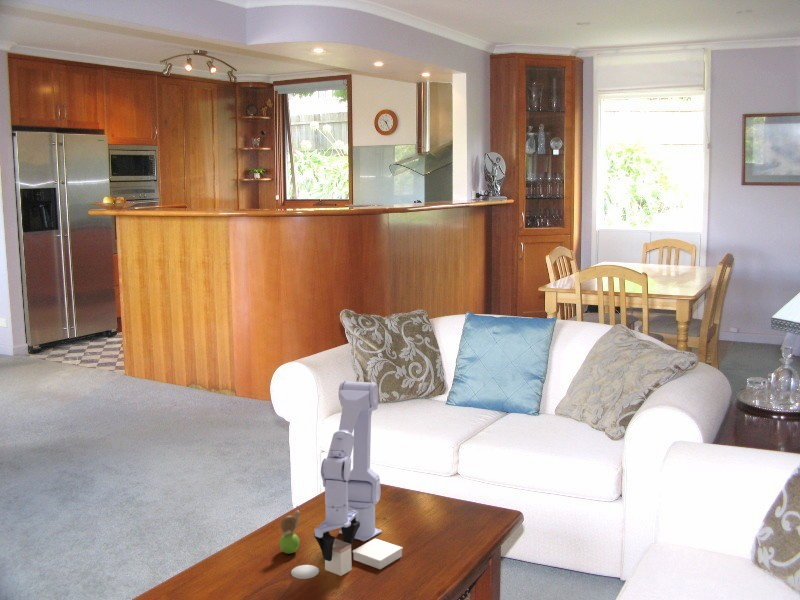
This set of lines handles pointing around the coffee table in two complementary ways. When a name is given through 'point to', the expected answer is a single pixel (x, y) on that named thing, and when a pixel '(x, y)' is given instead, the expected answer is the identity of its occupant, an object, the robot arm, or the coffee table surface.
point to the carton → (340, 558)
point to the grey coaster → (304, 571)
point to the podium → (377, 553)
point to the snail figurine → (289, 534)
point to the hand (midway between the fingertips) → (337, 554)
